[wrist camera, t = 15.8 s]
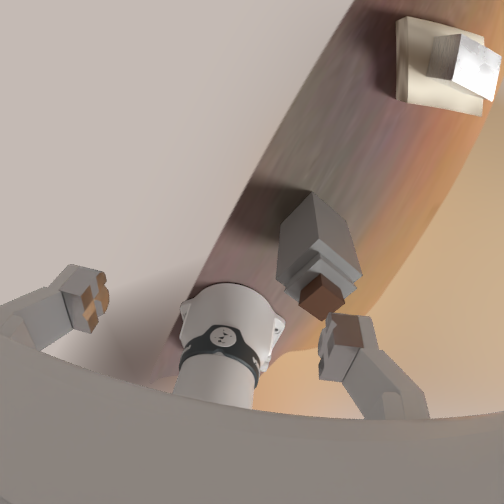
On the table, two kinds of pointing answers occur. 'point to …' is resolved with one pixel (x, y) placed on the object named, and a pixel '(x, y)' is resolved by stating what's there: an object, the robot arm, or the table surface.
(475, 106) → the cream square dish
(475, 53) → the grey block
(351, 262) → the perfume bottle
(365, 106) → the table surface
